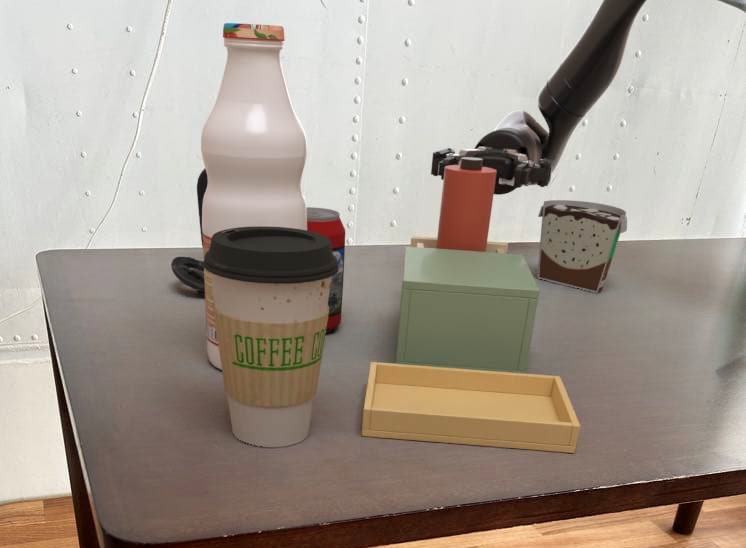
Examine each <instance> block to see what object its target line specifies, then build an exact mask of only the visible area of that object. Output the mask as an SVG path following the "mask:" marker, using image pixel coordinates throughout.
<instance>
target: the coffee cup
mask: <svg viewBox="0 0 746 548" xmlns="http://www.w3.org/2000/svg"><path fill="white" fill-rule="evenodd" d="M202 262H203V266H204V268H205V269H206V270H207V271H209V272H210V276H211V283H212V290H213V297H214V302H213V304H212V305H213V312H214V319H215V326H216V332H217V339H218V346H219V353H220V360H221V366H222V370H221V373H222V380H223V385H224V386H223V387H224V392H225V393H226V395H227V402H228V409H229V416H230V423H231V424H230V425H231V431H232V435H233V434H234V435H235V436H234V435H233V436H234V438H236V437H237V438H238V439H239V440H238V439H237V438H236V439H237V440H238V441H240V440H241V441H240V442H242V441H243V442H242V443H244V442H246V443H245V444H247V443H249V444H248V445H250V444H252V445H251V446H254V445H257V446H256V447H260V446H262V447H261V448H283V447H288V446H293V445H296V444H298V443H301V442H303V441H304V440H306V439H307V438H308V436H309V432H310V424H311V418H312V411H313V405H314V398H315V395H316V394H317V392H318V391H317V390H318V384H319V378H320V371H321V366H322V359H323V351H324V346H325V340H326V327H327V321H328V314H329V306H328V299H329V292H330V286H331V280H332V276H334V275H335V274H336V273H337V272H338V270H339V268H338V264H337V263H338V261H337V258H336V257H335V256H334V255H333V252H332V247H331V242H330V240H329V238H327V237H326V236H324V235H321V234H319V233H315V232H312V231H307V230H301V229H295V228H285V227H266V226H256V227H239V228H231V229H226V230H222V231H219V232H217V233H215V234H214V235H213V236H212V239H211V244H210V248H209V251H207V252H206V254H205V256H204V255H203V261H202Z"/></svg>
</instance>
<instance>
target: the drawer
mask: <svg viewBox="0 0 746 548" xmlns="http://www.w3.org/2000/svg"><path fill="white" fill-rule="evenodd" d="M436 246H437V237H431V236H419V235H418V236H416V235H411V236H410V245H409V247H421V248H435V249H436ZM508 250H509V243H508V242H507V241H506V242H505V241H504V242H503V241H491V240H490V241H489V240H487V246H486V252H492V253H507V254H508Z"/></svg>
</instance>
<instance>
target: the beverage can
mask: <svg viewBox="0 0 746 548" xmlns="http://www.w3.org/2000/svg"><path fill="white" fill-rule="evenodd" d="M306 208H307V231H312V232H315V233H319V234H321V235H324V236H326V237H327V238H329V240H330V242H331V247H332V252H333V255H334V256H335V257H336V258H337V261H338V263H337V264H338V268H339V270H338V272H337V273H336V274H335V275H334V276H332V280H331V286H330V292H329V299H328V306H329V314H328V321H327V327H326V333H329V332H331V331H332V330H334V329H335V328H337V327H338V326H339V325H340V324H341V323H342V312H343V311H342V309H343V308H342V307H343V295H344V294H343V293H344V292H343V291H344V276H345V275H344V274H345V254H346V253H345V252H346V251H345V250H346V229H345V226H344V224H343V221H342V220H341V217H340V212H339V211H338V210H334V209H330V208H325V207H313V206H312V207H309V206H306Z"/></svg>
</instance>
